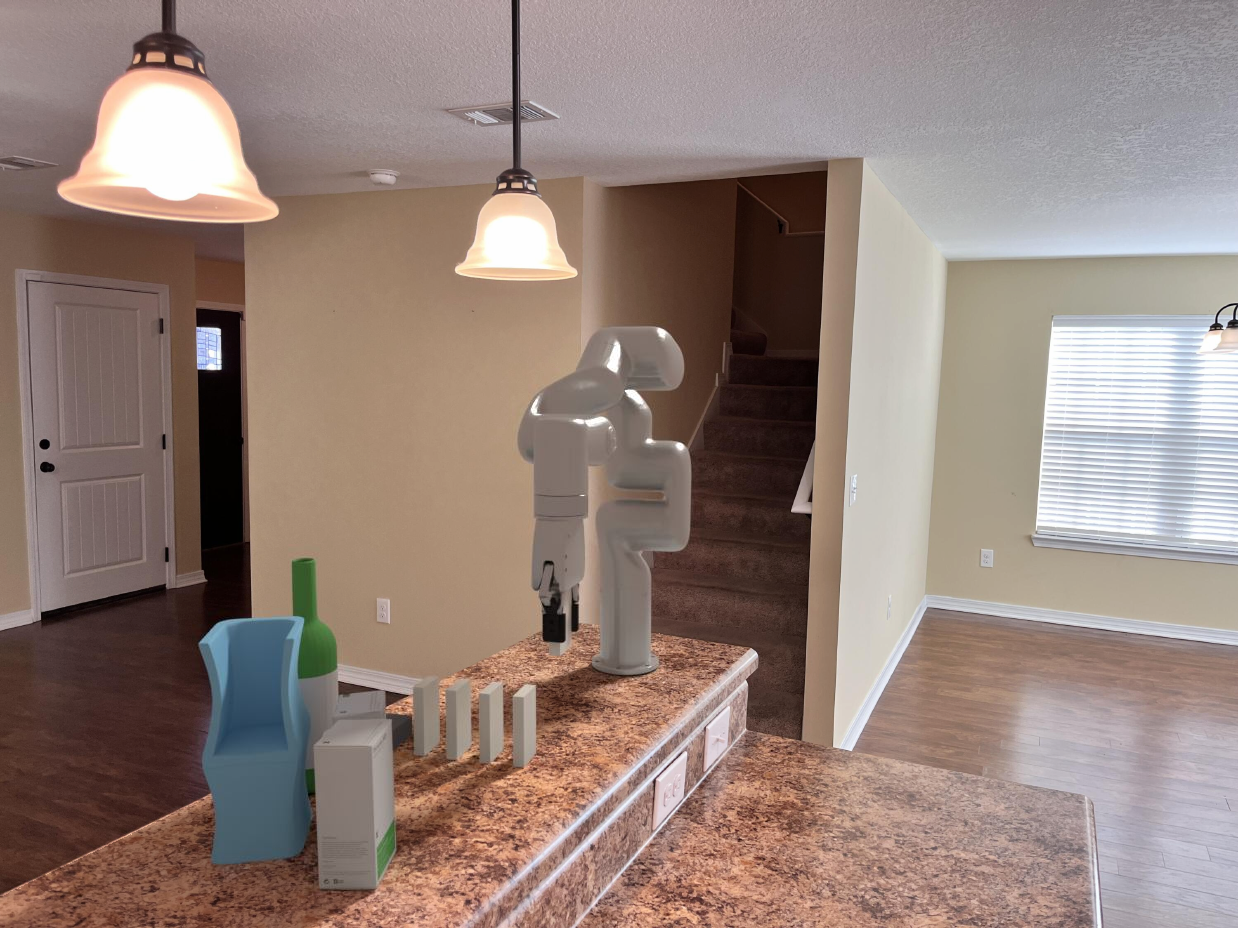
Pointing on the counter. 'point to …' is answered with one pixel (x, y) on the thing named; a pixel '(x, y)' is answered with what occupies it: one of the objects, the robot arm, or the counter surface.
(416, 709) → the domino
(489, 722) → the domino
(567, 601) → the domino
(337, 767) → the skincare box
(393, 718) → the block
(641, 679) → the counter surface
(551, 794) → the counter surface
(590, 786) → the counter surface
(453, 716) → the domino
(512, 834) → the counter surface
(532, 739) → the domino
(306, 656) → the wine bottle
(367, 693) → the skincare box
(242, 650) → the blue chair
